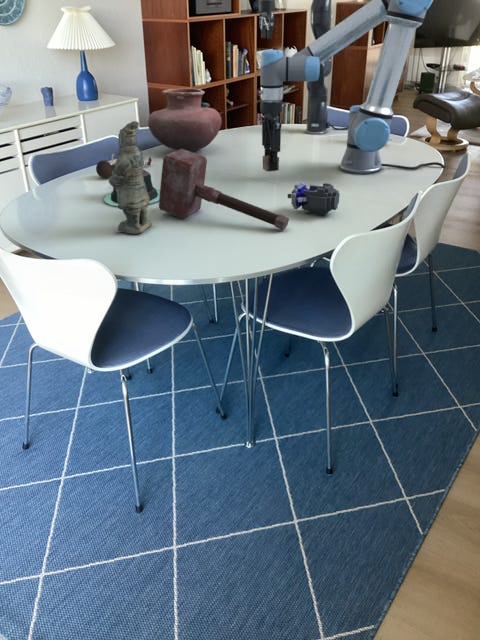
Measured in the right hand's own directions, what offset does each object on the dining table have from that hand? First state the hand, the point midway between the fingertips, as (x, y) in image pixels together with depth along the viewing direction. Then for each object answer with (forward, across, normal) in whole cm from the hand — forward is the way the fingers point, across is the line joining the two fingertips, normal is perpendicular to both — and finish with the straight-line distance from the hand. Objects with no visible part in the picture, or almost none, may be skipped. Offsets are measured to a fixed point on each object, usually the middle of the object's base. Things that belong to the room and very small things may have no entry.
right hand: (270, 168), depth 201 cm
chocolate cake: (+4, +3, -50) cm, 51 cm away
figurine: (+4, -30, -49) cm, 58 cm away
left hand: (-36, -96, +34) cm, 108 cm away
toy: (+4, +39, -1) cm, 39 cm away
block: (0, 0, 0) cm, 0 cm away
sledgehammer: (+4, +35, -28) cm, 45 cm away
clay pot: (+4, -52, -19) cm, 56 cm away
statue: (+4, +33, -55) cm, 64 cm away
